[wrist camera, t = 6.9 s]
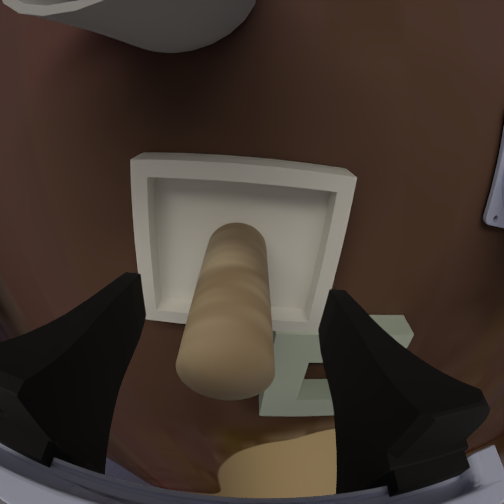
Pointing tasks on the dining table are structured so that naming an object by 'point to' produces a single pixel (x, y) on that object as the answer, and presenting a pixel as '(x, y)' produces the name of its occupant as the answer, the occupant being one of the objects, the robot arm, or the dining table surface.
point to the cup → (146, 19)
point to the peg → (230, 319)
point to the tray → (241, 211)
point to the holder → (295, 365)
